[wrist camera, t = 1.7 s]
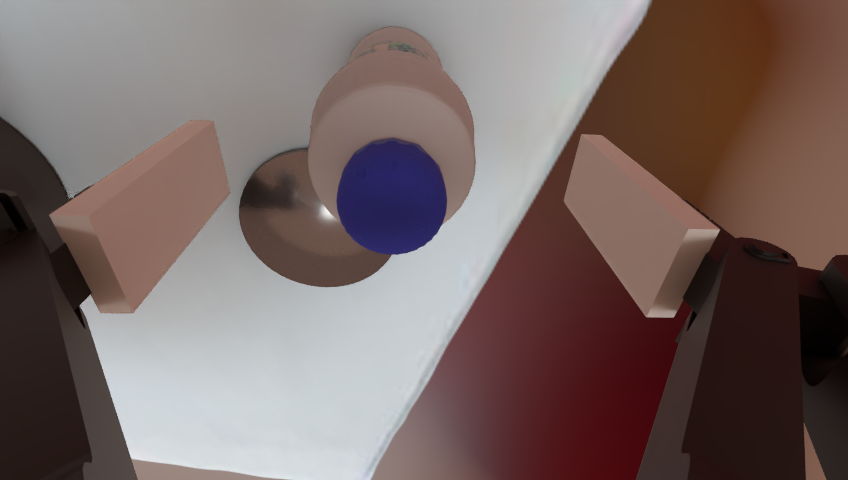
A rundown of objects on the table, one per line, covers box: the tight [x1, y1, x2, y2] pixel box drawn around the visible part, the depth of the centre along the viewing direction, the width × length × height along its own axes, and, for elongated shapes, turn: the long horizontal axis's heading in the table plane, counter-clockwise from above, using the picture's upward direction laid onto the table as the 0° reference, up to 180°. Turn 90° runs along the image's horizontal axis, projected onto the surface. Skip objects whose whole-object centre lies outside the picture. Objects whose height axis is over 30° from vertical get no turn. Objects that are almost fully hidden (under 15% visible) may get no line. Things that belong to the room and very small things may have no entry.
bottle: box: [308, 27, 476, 255], centre depth 20 cm, size 7×7×20 cm
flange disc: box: [239, 148, 392, 287], centre depth 34 cm, size 13×13×1 cm
